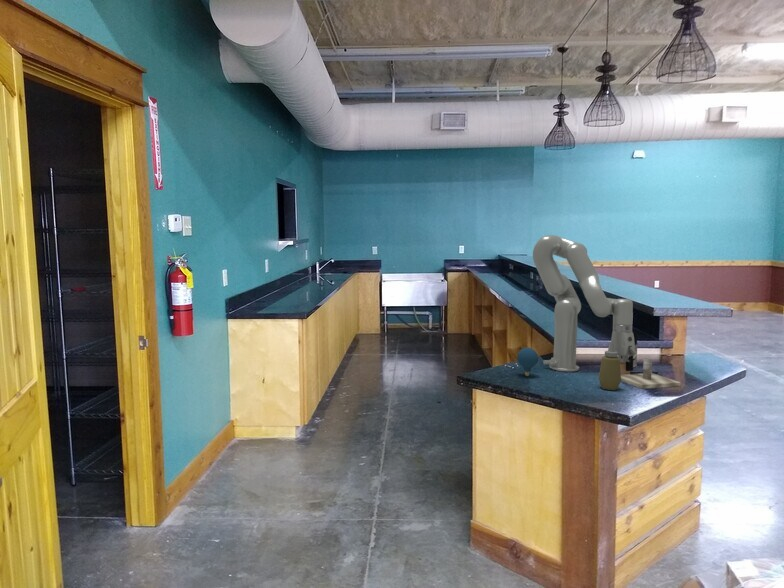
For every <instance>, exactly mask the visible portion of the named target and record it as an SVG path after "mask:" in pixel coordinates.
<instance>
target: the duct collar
mask: <svg viewBox="0 0 784 588" xmlns="http://www.w3.org/2000/svg"><path fill="white" fill-rule="evenodd" d="M620 372H621V375H623V374H631V371H626V363H624V362H620Z"/></svg>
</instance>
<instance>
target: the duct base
mask: <svg viewBox="0 0 784 588" xmlns="http://www.w3.org/2000/svg"><path fill="white" fill-rule="evenodd" d="M621 382H622V383H625V384H628V385H630V386H632V387H636V388H638V389H641V390H642V389H644V390H645V389H658V388H660V389H661V388H676V387H677V388H678V387H681V385H682V384H681V382H680V381H677V380H674V379H671V378H668V377H665V376H662V375H660V374H656V373H653V359H652V358H647V357H645V358H643V366H642V373H630V374H623V375H621Z"/></svg>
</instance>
